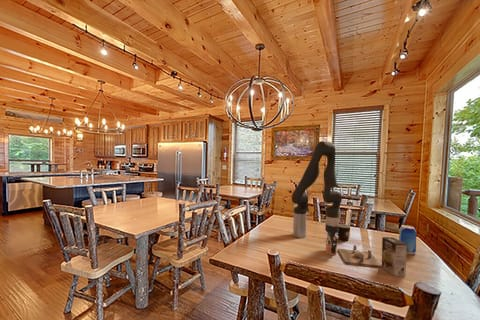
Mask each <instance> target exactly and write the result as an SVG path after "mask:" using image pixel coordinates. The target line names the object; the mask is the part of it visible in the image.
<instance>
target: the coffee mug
mask: <svg viewBox="0 0 480 320" xmlns="http://www.w3.org/2000/svg"><path fill="white" fill-rule="evenodd" d="M350 232H351V226H350V225H349V224H345V223H339V232H338V233H335V236H337V240H339V241H340V242H349V238H350Z"/></svg>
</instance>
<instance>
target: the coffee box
mask: <svg viewBox="0 0 480 320" xmlns="http://www.w3.org/2000/svg"><path fill="white" fill-rule="evenodd" d="M381 245H382V246H381V247H382V248H381V265H382V268H383V269H385V270H386V271H387V272H389V273H390V274H391V275H393V276H397V277H399V276H406V274H407V254H406V252H407V244H406V243H404V242H402V241H400V240H399V238H395V237H393V236H392V237H390V236H382V240H381Z"/></svg>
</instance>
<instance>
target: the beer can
mask: <svg viewBox="0 0 480 320" xmlns="http://www.w3.org/2000/svg"><path fill="white" fill-rule="evenodd" d="M398 235H399V236H398V237H399V238H398V240H400V241H402V242H404V243H406V244H407V252H406V255H415V253H417V231H416V228H415V227H414V226H412V225H408V224H406V225H405V224H402V225H401V226H400V227H399V232H398Z"/></svg>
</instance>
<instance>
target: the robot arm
mask: <svg viewBox="0 0 480 320" xmlns="http://www.w3.org/2000/svg"><path fill="white" fill-rule="evenodd" d="M311 155H312V156H311V159H310V161H309V163H308V165H307V167H306V169H305V171H304V173H303V175H302V177H301V179H300V180H299V183H298V184H297V186H296V187H295V189H294V190H293V192H292V195H291V202H292V203H293V204H294V205H296V207H294V208H293V223H292V235H293V237H295V238H297V239H298V238H300V239H302V238H303V239H304V238H306V237H307V211H308V207H309V195H308V193H307V192H306V191H307V190H308V189H309V188H310V187H311V186H312V185H314V183H316V181H317V179H318V177H319V176H320V161H321V159H322V157H324V156H325V157H326V166H325V167H324V168H325V169H324V171H323V182H324V188H323V194H322V199H323V201H324V202H325V203H327V204H332V205H329V206H327V207H326V208H325V209H326V210H325V221H324V222H325V228H324V229H325V232H327V234H326V235H327V237H326V238H327V241H328V242H327V244H331V253H333V254H335V247H336V248H337V247H338V246H337V245H338V243H337V242H338V241H337V240H338V236H337V235H336V234H338V232H339V224H340V220H339V210H340V206H341V203H342V200H343V198H342V197H343V196H342V194H341V192H339V191H338V190H337V191H335V190H334V191H332V190H331V189H332V188H336V187H337V186H338V185H337V176H336V145H335V144H334V143H333V142H329V141H319V142H318V143H317V144H316V145H315V147H314V149H313V153H312V154H311ZM335 233H336V234H335ZM333 244H334V245H333ZM337 249H338V248H337Z"/></svg>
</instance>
